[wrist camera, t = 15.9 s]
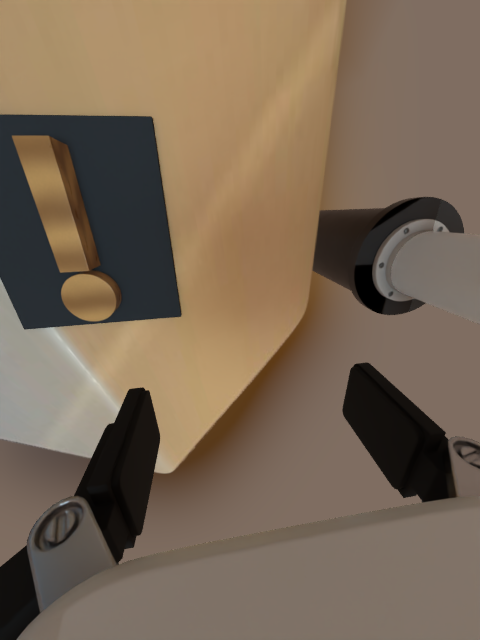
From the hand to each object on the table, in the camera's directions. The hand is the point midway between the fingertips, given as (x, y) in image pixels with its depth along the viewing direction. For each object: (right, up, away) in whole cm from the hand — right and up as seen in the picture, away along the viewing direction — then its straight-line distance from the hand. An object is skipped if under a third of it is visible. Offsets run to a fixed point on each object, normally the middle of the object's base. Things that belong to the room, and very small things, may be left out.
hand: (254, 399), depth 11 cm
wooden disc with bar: (-19, +13, +16) cm, 28 cm away
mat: (-19, +14, +17) cm, 29 cm away
